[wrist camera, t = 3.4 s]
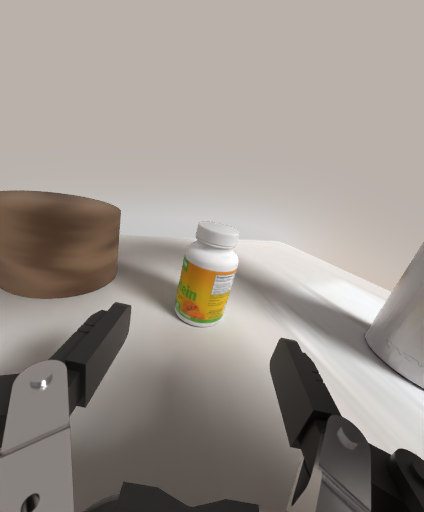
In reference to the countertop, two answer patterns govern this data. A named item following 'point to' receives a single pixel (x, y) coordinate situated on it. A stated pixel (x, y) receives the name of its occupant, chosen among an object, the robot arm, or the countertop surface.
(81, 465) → the countertop surface
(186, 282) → the supplement bottle
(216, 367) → the countertop surface
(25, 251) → the walnut block
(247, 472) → the countertop surface
